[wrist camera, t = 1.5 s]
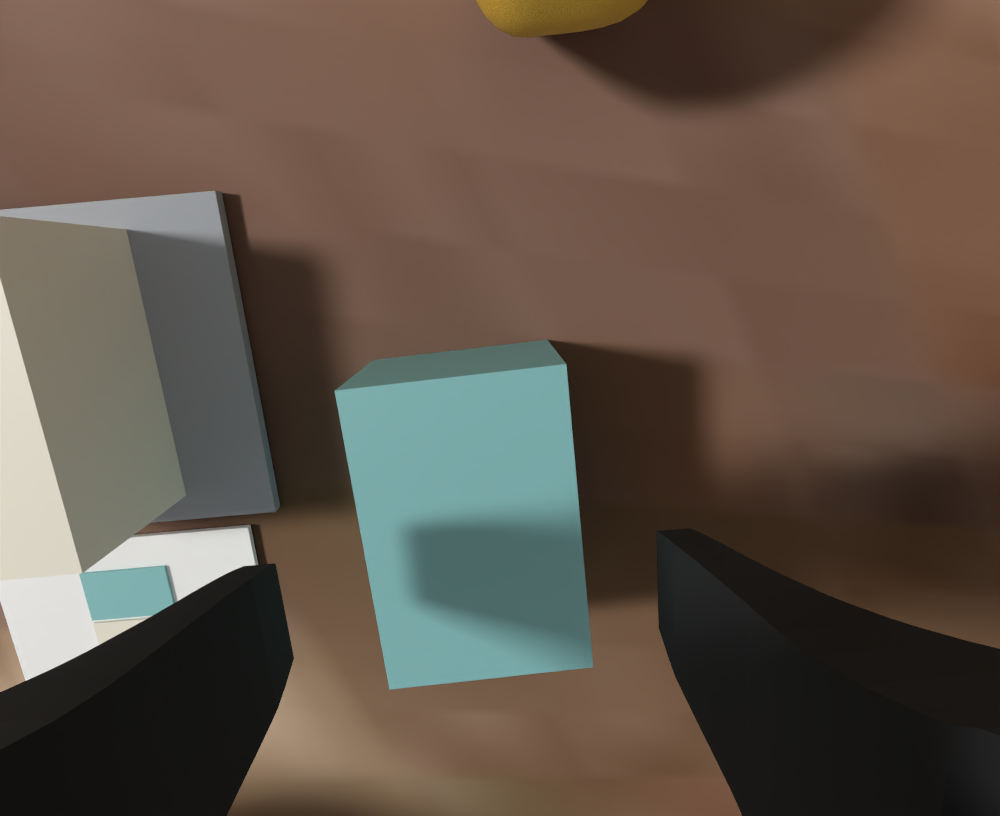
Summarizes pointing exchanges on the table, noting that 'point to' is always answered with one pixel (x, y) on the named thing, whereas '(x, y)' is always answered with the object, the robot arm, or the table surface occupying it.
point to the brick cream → (76, 400)
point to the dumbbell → (555, 15)
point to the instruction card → (116, 591)
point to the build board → (193, 344)
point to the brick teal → (469, 512)
